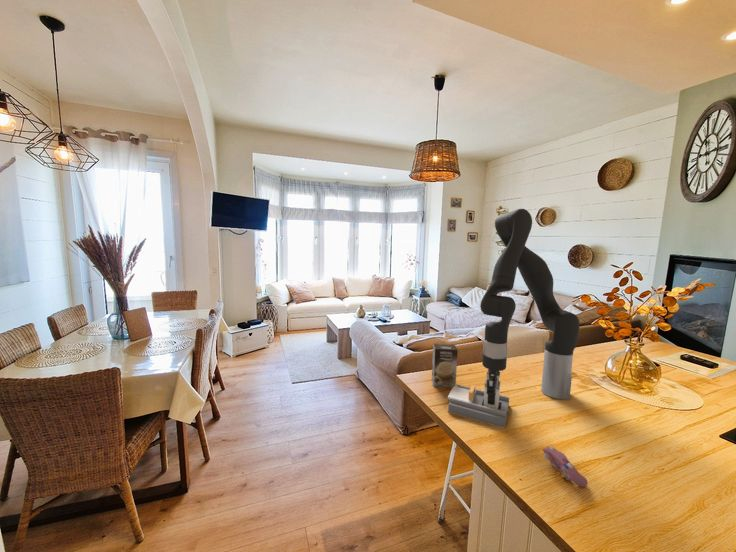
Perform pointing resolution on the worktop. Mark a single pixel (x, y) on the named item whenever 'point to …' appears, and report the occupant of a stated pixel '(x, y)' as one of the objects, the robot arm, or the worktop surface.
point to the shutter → (463, 393)
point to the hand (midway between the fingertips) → (491, 400)
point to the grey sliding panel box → (480, 409)
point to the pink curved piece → (564, 466)
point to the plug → (496, 405)
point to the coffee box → (444, 365)
